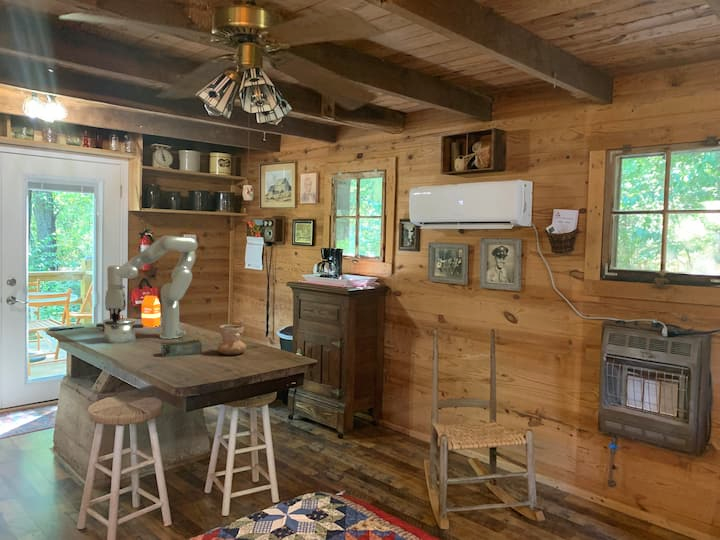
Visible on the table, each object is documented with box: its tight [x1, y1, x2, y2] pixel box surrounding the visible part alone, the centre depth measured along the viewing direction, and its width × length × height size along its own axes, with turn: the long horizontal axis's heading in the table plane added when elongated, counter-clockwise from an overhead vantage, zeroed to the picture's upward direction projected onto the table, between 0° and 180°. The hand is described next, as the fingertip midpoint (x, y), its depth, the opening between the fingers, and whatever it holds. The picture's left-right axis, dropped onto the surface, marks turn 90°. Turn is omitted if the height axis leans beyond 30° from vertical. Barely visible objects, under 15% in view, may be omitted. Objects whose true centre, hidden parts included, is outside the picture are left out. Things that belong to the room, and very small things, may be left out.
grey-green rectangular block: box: [160, 339, 202, 358], centre depth 281 cm, size 8×19×7 cm, turn 117°
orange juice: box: [141, 294, 161, 328], centre depth 359 cm, size 8×9×20 cm
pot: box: [95, 322, 145, 344], centre depth 312 cm, size 26×17×10 cm, turn 88°
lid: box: [102, 314, 137, 325], centre depth 310 cm, size 17×20×4 cm
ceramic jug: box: [216, 324, 247, 356], centre depth 283 cm, size 18×14×14 cm
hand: (115, 320), depth 306 cm, fingers closed
